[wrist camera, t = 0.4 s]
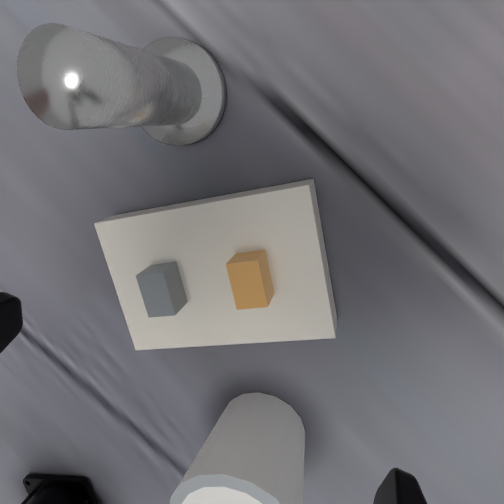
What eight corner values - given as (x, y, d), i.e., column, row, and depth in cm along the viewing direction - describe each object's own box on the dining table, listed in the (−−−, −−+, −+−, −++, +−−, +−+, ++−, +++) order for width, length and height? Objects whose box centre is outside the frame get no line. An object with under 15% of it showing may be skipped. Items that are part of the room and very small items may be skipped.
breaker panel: (151, 333, 26) (121, 365, 22) (114, 215, 24) (74, 231, 20) (337, 319, 22) (333, 355, 19) (313, 178, 20) (304, 190, 17)
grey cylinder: (195, 399, 27) (143, 489, 20) (285, 371, 24) (258, 463, 18) (243, 477, 28) (208, 586, 21) (333, 458, 25) (324, 574, 19)
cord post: (151, 152, 22) (25, 174, 14) (124, 55, 20) (-34, 14, 12) (236, 133, 20) (151, 144, 12) (213, 27, 19) (100, -43, 11)
